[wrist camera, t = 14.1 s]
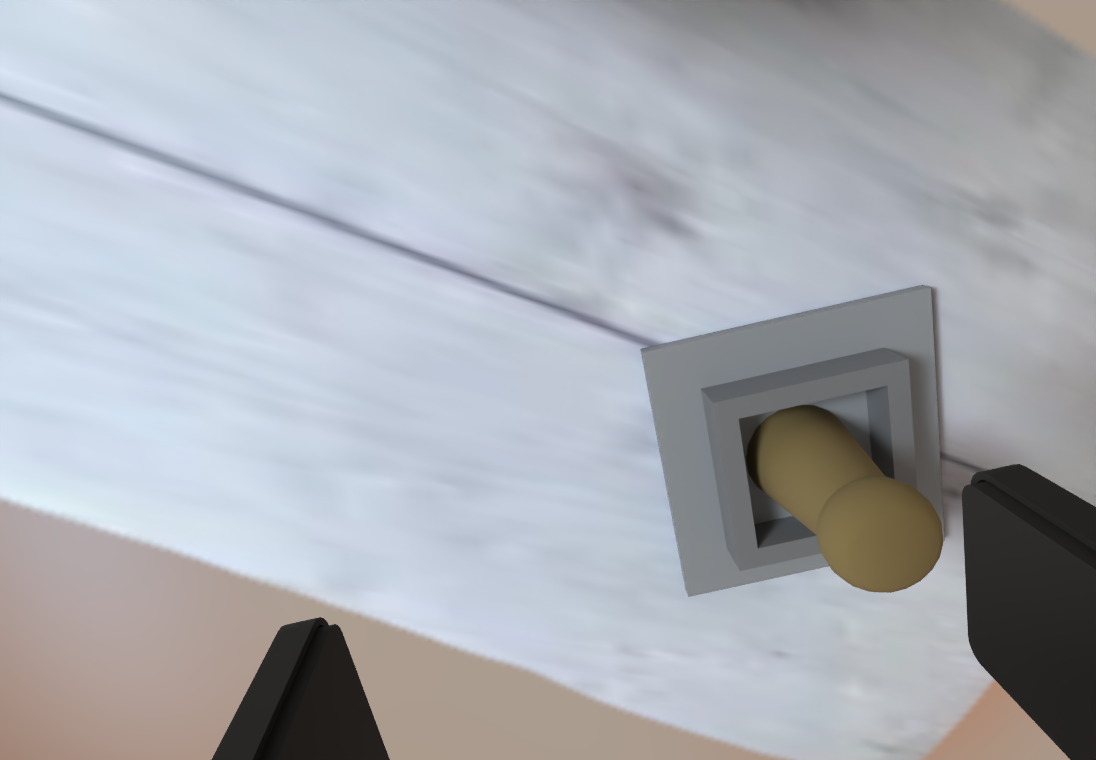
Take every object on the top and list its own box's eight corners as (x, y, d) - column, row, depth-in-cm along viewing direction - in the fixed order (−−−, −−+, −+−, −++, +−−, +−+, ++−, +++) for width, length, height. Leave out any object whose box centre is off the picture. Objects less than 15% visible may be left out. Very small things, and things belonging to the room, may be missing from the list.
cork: (765, 515, 41) (851, 635, 30) (731, 429, 39) (811, 524, 28) (861, 476, 40) (983, 583, 30) (831, 387, 38) (950, 468, 28)
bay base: (640, 348, 38) (651, 364, 35) (922, 285, 38) (959, 295, 35) (685, 589, 43) (699, 622, 40) (936, 534, 42) (970, 563, 39)
